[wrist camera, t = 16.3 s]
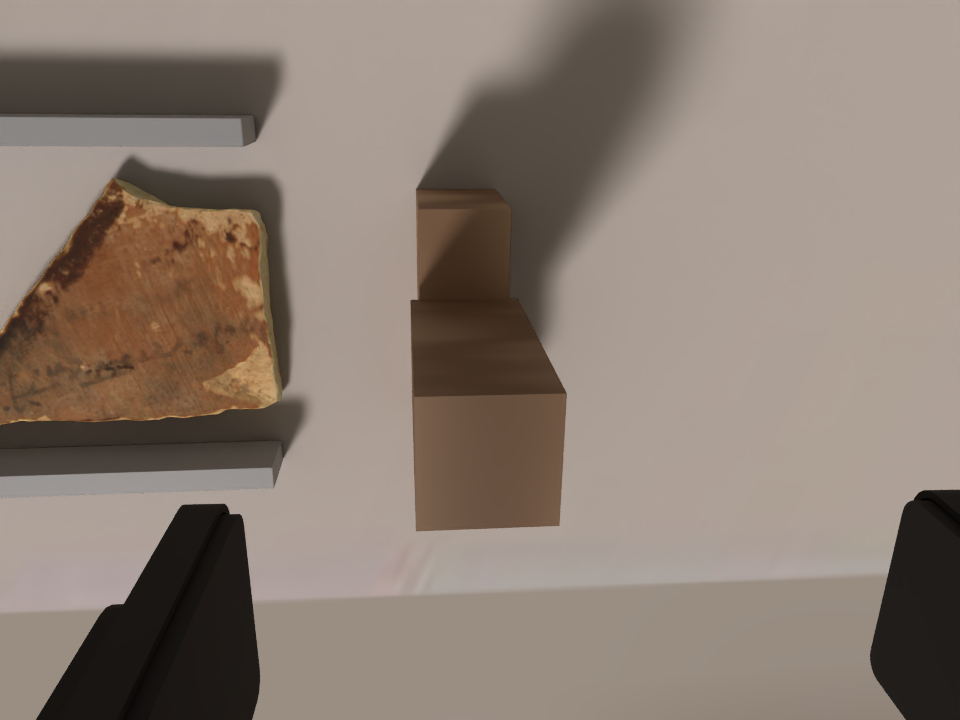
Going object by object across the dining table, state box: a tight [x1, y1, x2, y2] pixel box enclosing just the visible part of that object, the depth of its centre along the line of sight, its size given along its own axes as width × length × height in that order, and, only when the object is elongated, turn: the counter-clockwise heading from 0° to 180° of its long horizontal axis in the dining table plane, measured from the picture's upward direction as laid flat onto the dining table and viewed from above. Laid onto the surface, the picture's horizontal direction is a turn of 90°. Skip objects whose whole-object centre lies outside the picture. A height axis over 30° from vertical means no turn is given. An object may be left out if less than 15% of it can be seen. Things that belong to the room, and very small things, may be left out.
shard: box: [0, 178, 283, 425], centre depth 24 cm, size 11×8×2 cm
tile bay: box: [0, 114, 283, 498], centre depth 24 cm, size 14×12×2 cm
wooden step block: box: [411, 189, 567, 531], centre depth 21 cm, size 3×8×11 cm, turn 0°
